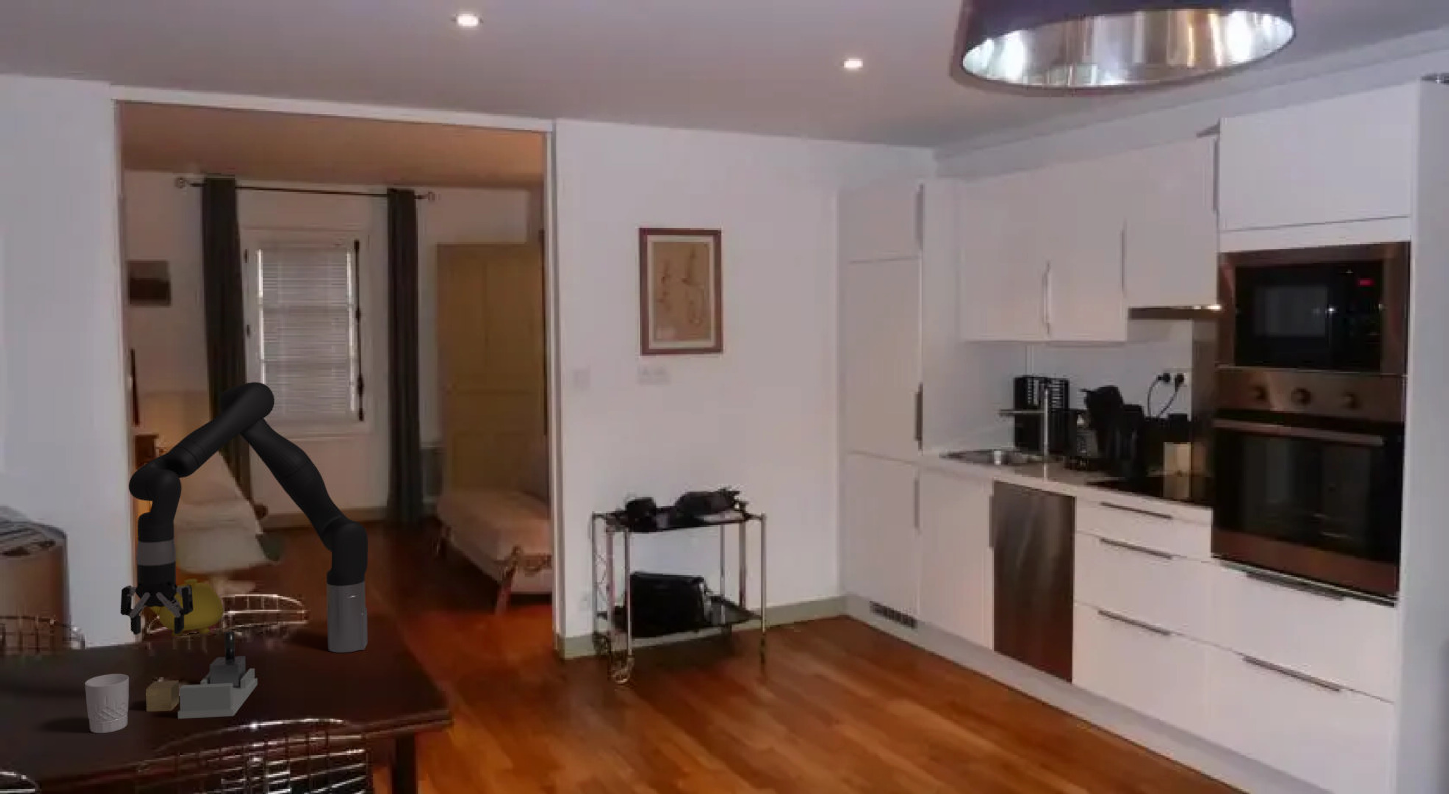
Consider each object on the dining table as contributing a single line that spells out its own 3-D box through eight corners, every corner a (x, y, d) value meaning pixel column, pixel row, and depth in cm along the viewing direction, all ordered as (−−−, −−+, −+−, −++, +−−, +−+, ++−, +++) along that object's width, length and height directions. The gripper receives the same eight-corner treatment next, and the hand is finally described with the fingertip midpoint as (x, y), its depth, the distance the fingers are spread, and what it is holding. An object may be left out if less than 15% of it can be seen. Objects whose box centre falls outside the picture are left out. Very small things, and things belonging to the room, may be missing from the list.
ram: (218, 678, 251) (216, 631, 250) (245, 677, 252) (244, 630, 251) (210, 687, 245) (208, 639, 244) (238, 686, 246) (237, 638, 245)
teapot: (136, 642, 284) (135, 590, 283) (146, 626, 299) (144, 576, 298) (221, 635, 291) (220, 584, 290) (226, 619, 305) (224, 571, 304)
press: (207, 685, 252) (207, 657, 251) (258, 683, 254) (257, 655, 253) (178, 718, 231) (177, 688, 231) (233, 716, 233) (232, 686, 232)
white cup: (120, 717, 232) (119, 671, 231) (137, 726, 227) (135, 679, 226) (80, 728, 225) (78, 680, 225) (96, 737, 220) (94, 689, 220)
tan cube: (179, 702, 241) (178, 680, 241) (171, 710, 236) (170, 688, 236) (154, 703, 240) (154, 681, 240) (146, 712, 235) (146, 689, 235)
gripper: (197, 556, 242) (198, 628, 243) (129, 556, 241) (131, 629, 242) (183, 563, 235) (184, 638, 236) (114, 564, 233) (115, 638, 235)
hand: (157, 633), depth 239 cm, fingers open, 8 cm apart
